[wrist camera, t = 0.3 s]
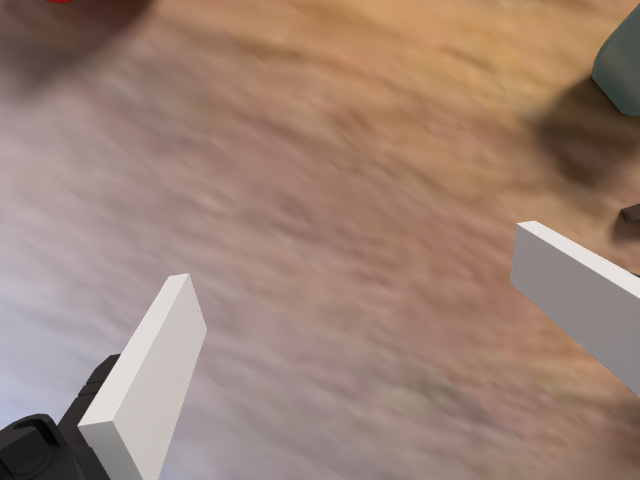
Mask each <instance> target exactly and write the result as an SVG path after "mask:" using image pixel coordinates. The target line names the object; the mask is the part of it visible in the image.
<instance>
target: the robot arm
mask: <svg viewBox="0 0 640 480" xmlns="http://www.w3.org/2000/svg"><path fill="white" fill-rule="evenodd" d="M510 283H511V284H512V285H513V286H514V287H516V288H517V289H518V290H519V291H520V292H521V293H522V294H523V295H525V296H526V297H527V298H528V299H529V300H530V301H531V302H532V303H534V304H535V305H536V306H537V307H538V308H539V309H540V310H541V311H543V312H544V313H545V314H546V315H547V316H548V317H549V318H550V319H552V320H553V321H554V322H555V323H556V324H557V325H558V326H559V327H561V328H562V329H563V330H564V331H565V332H566V333H567V334H568V335H570V336H571V337H572V338H573V339H574V340H575V341H576V342H577V343H579V344H580V345H581V346H582V347H583V348H584V349H585V350H586V351H588V352H589V353H590V354H591V355H592V356H593V357H594V358H595V359H597V360H598V361H599V362H600V363H601V364H602V365H603V366H604V367H606V368H607V369H608V370H609V371H610V372H611V373H612V374H613V375H615V376H616V377H617V378H618V379H619V380H620V381H621V382H622V383H624V384H625V385H626V386H627V387H628V388H629V389H630V390H631V391H633V392H634V393H635V394H636V395H637V396H638V397H639V398H640V275H637V274H634V273H629V272H627V271H625V270H624V269H622V268H620V267H618V266H616V265H615V264H613V263H611V262H609V261H607V260H606V259H604V258H602V257H600V256H598V255H596V254H595V253H593V252H591V251H589V250H587V249H586V248H584V247H582V246H580V245H578V244H576V243H575V242H573V241H571V240H569V239H567V238H566V237H564V236H562V235H560V234H558V233H556V232H555V231H553V230H551V229H549V228H547V227H546V226H544V225H542V224H540V223H538V222H536V221H529V222H522V223H516V230H515V239H514V248H513V258H512V267H511V276H510ZM206 331H207V328H206V325H205V322H204V319H203V316H202V313H201V310H200V307H199V303H198V300H197V297H196V294H195V291H194V288H193V285H192V282H191V278H190V275H189V273H188V274H181V275H175V276H169V278H168V279H167V281H166V282H165V284H164V286H163V287H162V289H161V291H160V292H159V294H158V295H157V297H156V299H155V300H154V302H153V304H152V305H151V307H150V308H149V310H148V312H147V313H146V315H145V317H144V318H143V320H142V321H141V323H140V325H139V326H138V328H137V330H136V331H135V333H134V335H133V336H132V338H131V339H130V341H129V343H128V344H127V346H126V348H125V349H124V351H123V352H122V354H117V355H110V356H109V357H108V358H107V359H106V360H105V361H104V362H102V363H101V364H100V365H99V366H98V367H97V368H96V369H95V370H94V372H93V373H92V375H91V376H90V378H89V379H88V381H87V382H86V385H85V386H83V388H82V389H81V391H80V392H79V394H78V397H77V398H75V400H74V401H73V403H72V404H71V406H70V407H69V409H68V410H67V412H66V413H65V415H64V416H63V418H62V419H61V421H60V422H59V424H58V425H57V426H56V424H55V422H54V421H53V419H52V418H51V417H50V416H49V415H48V414H35V415H30V416H26V417H24V418H22V419H20V420H18V421H15V422H13V423H11V424H10V425H8V426H7V427H5V428H4V429H2V430H1V431H0V480H158V478H159V475H160V472H161V469H162V466H163V463H164V460H165V457H166V454H167V451H168V448H169V445H170V441H171V438H172V435H173V432H174V429H175V426H176V423H177V420H178V417H179V414H180V411H181V408H182V405H183V402H184V399H185V396H186V392H187V389H188V386H189V383H190V380H191V377H192V374H193V371H194V368H195V365H196V362H197V359H198V356H199V353H200V350H201V347H202V343H203V340H204V337H205V334H206Z"/></svg>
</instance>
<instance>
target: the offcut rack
mask: <svg viewBox="0 0 640 480" xmlns="http://www.w3.org/2000/svg"><path fill="white" fill-rule="evenodd" d="M622 211H623V215H624V218H625V221H626V222H629V221H636V220H640V204H637V205H633V206H630V207H627V208H624V209H622Z"/></svg>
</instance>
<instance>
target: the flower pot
mask: <svg viewBox="0 0 640 480" xmlns="http://www.w3.org/2000/svg"><path fill="white" fill-rule="evenodd" d="M592 79H593V80H594V81H595V82H596V84H597V85H598V86H599V87H600V88H601V89H602V91H603V92H604V93H605V94H606V95H607V96H608V98H609V99H610V100H611V101H612V102H613V104H614V105H615V106H616V107H617V108H618V110H619V111H620V112H621V113H622V114H624V115H629V116H640V3H639V4H638V6H637V7H636V8H635V9H634V10H633V11H632V12H631V13H630V14H629V15H628V17H627V18H626V19H625V20H624V21H623V22H622V23H621V24H620V25H619V26H618V27H617V29H616V30H615V31H614V32H613V33H612V34H611V35H610V36H609V38H608V39H607V40H606V41H605V43H604V44H603V46H602V47H601V49H600V50H599V52H598V54H597V56H596V59H595V61H594V65H593V69H592Z"/></svg>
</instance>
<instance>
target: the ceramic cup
mask: <svg viewBox="0 0 640 480" xmlns="http://www.w3.org/2000/svg"><path fill="white" fill-rule="evenodd" d="M46 1H49V2H54V3H65V2H69V1H72V0H46Z"/></svg>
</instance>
